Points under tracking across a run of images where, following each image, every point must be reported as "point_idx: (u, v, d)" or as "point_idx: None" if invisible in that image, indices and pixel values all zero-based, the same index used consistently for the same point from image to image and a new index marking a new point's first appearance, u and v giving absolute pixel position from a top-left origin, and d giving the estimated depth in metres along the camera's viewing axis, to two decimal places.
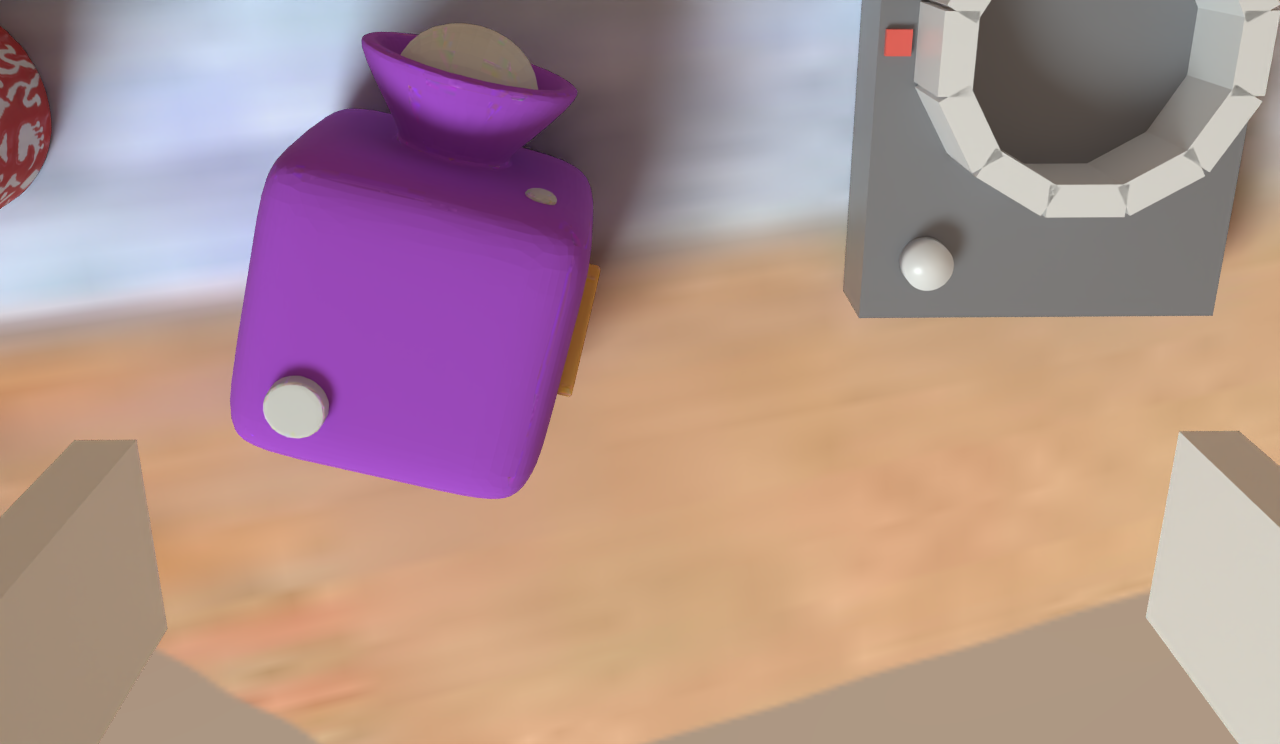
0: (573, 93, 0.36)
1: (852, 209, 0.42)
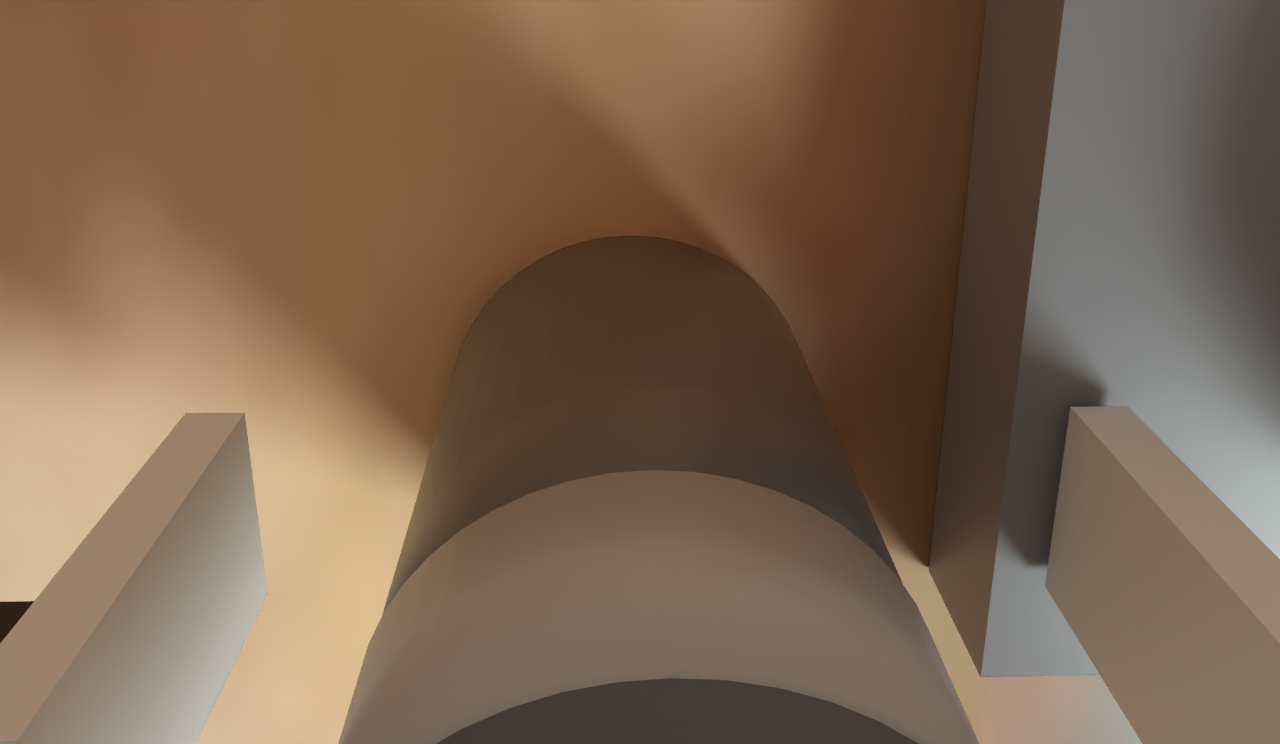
0: None
1: None
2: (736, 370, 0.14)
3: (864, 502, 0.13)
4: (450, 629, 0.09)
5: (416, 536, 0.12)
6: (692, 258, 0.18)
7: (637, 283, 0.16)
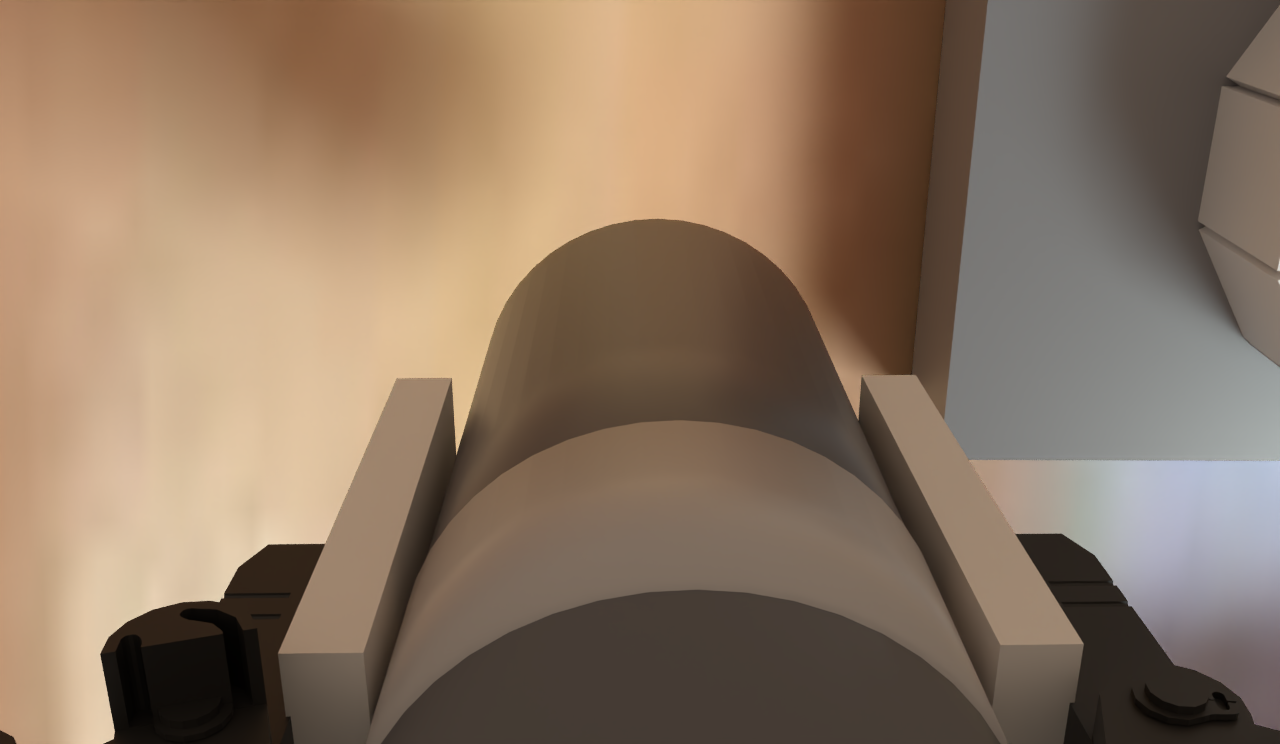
0: None
1: None
2: (758, 339, 0.15)
3: (875, 462, 0.14)
4: (496, 553, 0.10)
5: (459, 484, 0.13)
6: (717, 240, 0.19)
7: (665, 260, 0.17)
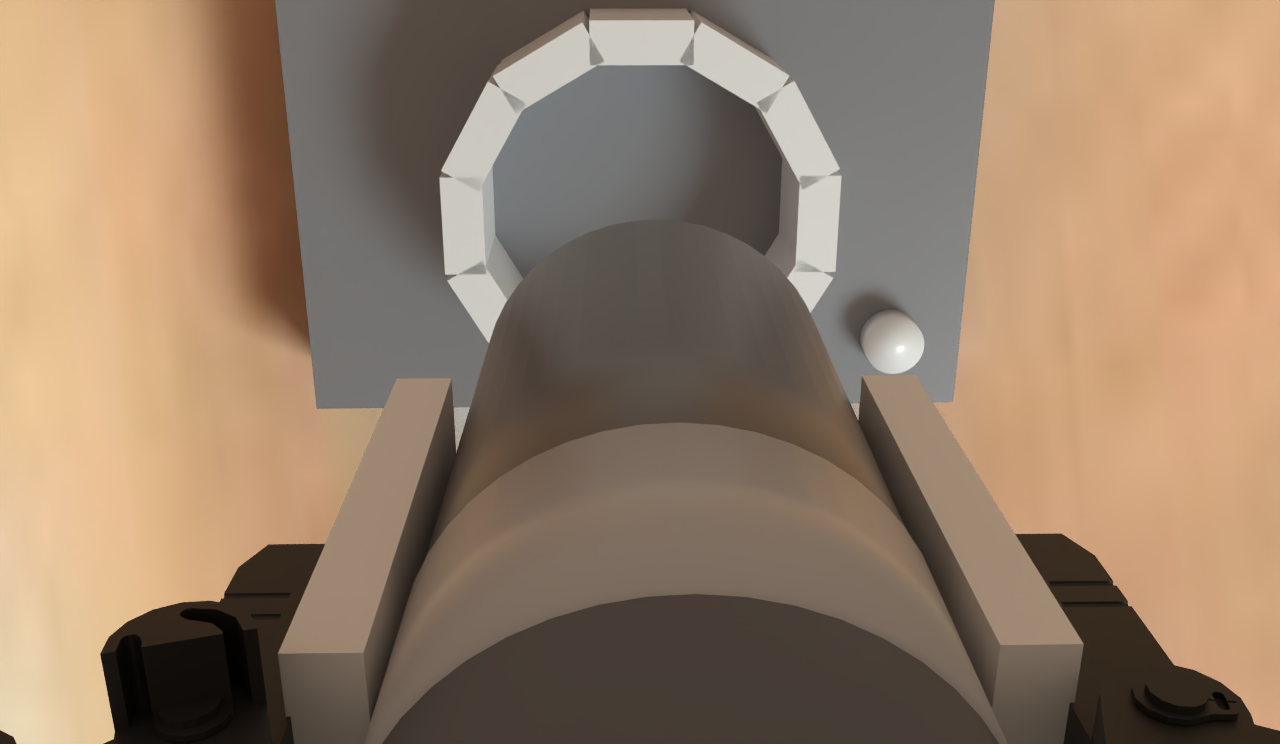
0: None
1: None
2: (758, 341, 0.15)
3: (876, 465, 0.14)
4: (494, 557, 0.10)
5: (457, 486, 0.13)
6: (717, 241, 0.19)
7: (665, 261, 0.17)
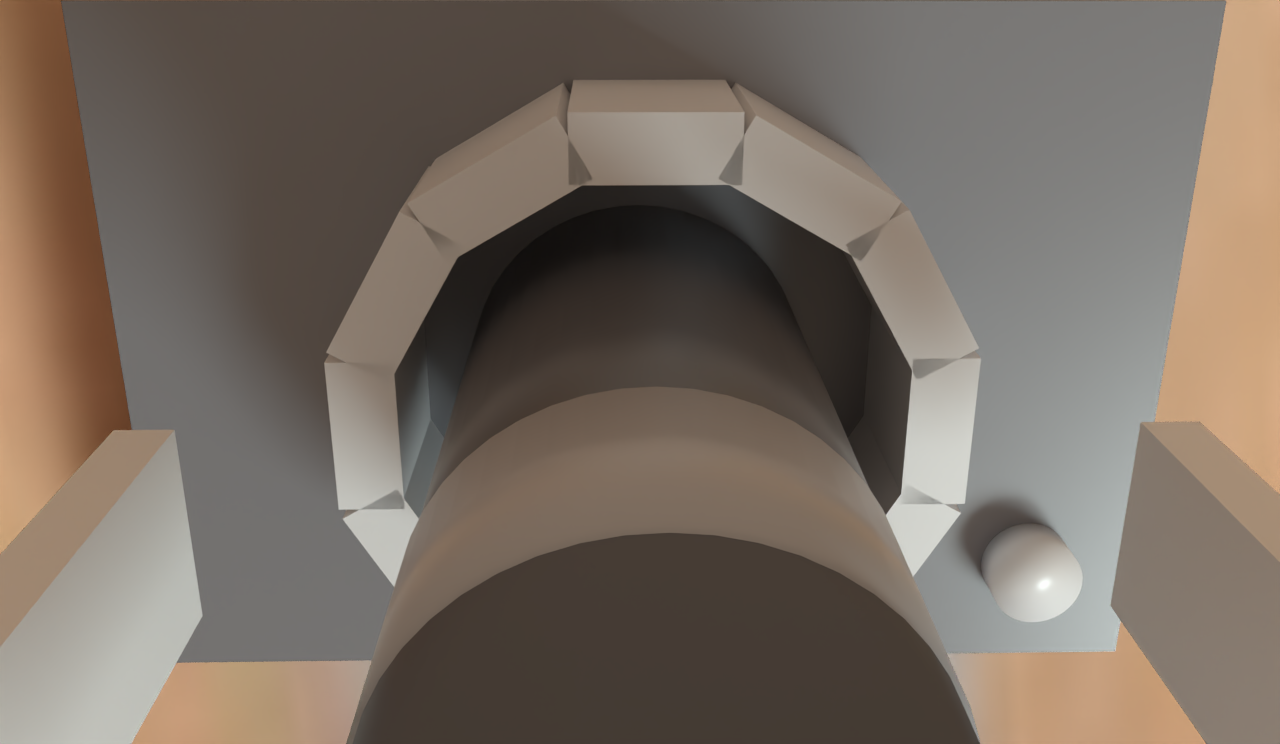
0: None
1: None
2: (731, 315, 0.16)
3: (842, 430, 0.15)
4: (485, 507, 0.11)
5: (450, 451, 0.14)
6: (695, 225, 0.20)
7: (645, 243, 0.18)
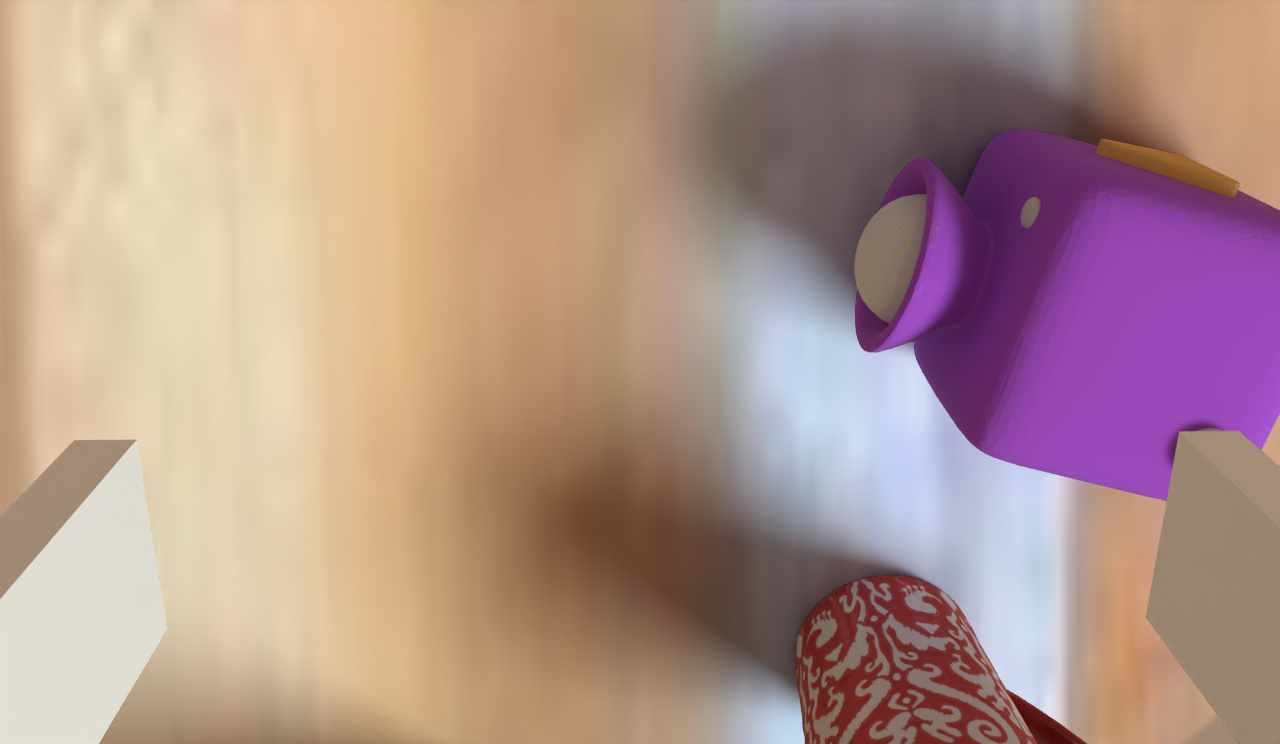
0: (929, 166, 0.38)
1: None
2: None
3: None
4: None
5: None
6: None
7: None
